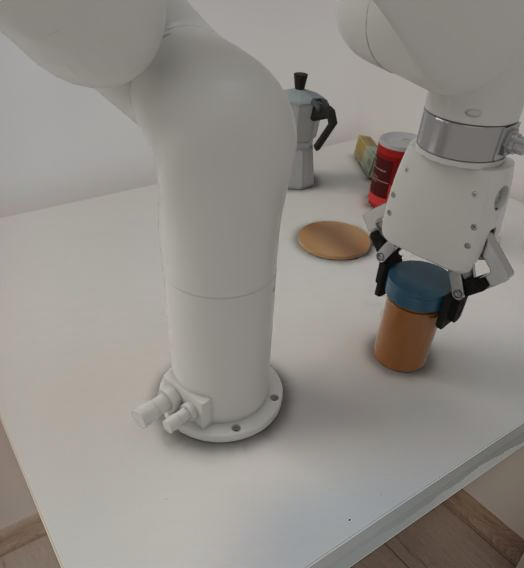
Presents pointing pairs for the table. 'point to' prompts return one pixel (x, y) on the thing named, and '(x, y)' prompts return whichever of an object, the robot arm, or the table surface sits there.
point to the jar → (404, 337)
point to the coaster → (334, 240)
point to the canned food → (387, 164)
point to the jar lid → (417, 285)
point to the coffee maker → (308, 128)
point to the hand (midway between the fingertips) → (414, 305)
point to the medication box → (366, 153)
